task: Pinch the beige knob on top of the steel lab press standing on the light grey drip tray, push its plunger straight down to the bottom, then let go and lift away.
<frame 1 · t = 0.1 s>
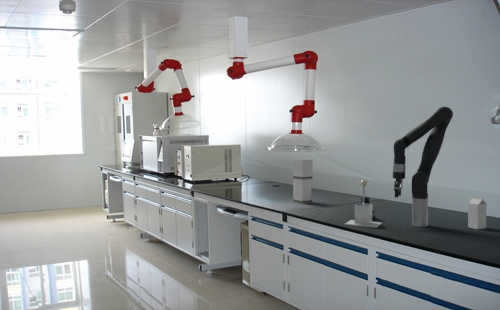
hand: (397, 196, 305), 17 cm above the worktop, tool pointing down, fingers open, 8 cm apart
scope: (366, 218, 323), on the worktop
plunger: (363, 193, 303), point 19 cm above the worktop, slide at 0.0 cm
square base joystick: (363, 213, 304), on the tray, point 7 cm above the worktop
tray: (363, 224, 304), on the worktop
milk carton: (476, 228, 292), on the worktop
grey banded column: (302, 202, 391), on the worktop
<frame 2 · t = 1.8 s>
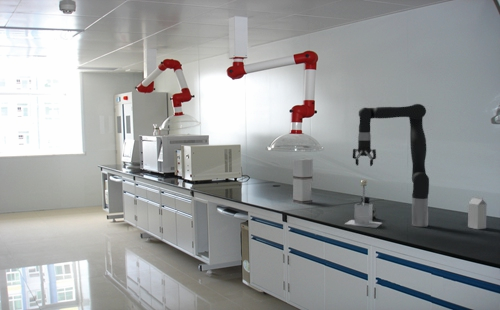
hand: (364, 165, 302), 37 cm above the worktop, tool pointing down, fingers open, 8 cm apart
nothing on the worktop moved.
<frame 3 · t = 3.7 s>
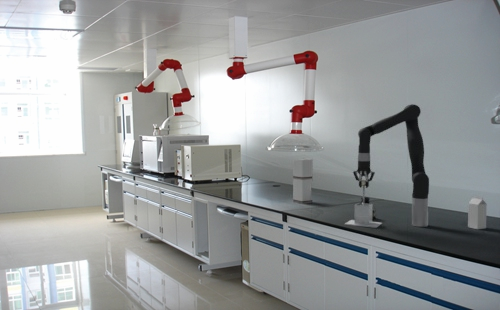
hand: (363, 187, 303), 23 cm above the worktop, tool pointing down, fingers closed on plunger, 3 cm apart
plunger: (363, 193, 303), point 19 cm above the worktop, slide at 0.0 cm, touching gripper
everything else where it was.
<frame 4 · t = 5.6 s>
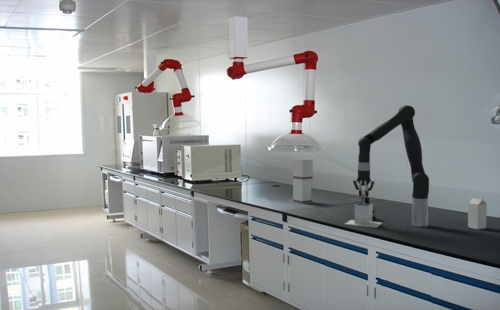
hand: (363, 196, 303), 17 cm above the worktop, tool pointing down, fingers closed on plunger, 3 cm apart
plunger: (363, 202, 303), point 13 cm above the worktop, slide at 5.9 cm, touching gripper
everything else where it was.
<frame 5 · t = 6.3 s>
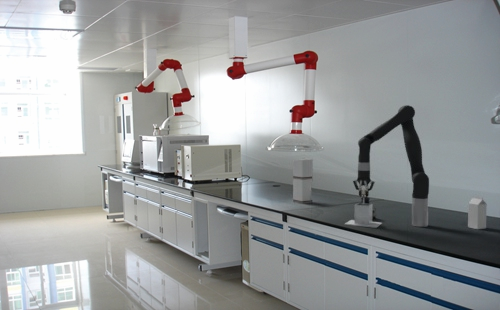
hand: (363, 196, 303), 17 cm above the worktop, tool pointing down, fingers closed on plunger, 3 cm apart
plunger: (363, 203, 303), point 13 cm above the worktop, slide at 5.9 cm, touching gripper
everything else where it was.
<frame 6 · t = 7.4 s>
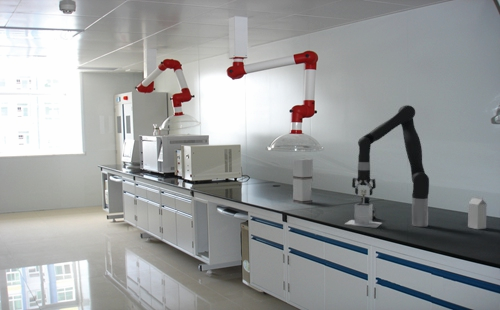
hand: (363, 194, 303), 19 cm above the worktop, tool pointing down, fingers open, 8 cm apart
plunger: (363, 203, 303), point 13 cm above the worktop, slide at 5.9 cm
everything else where it was.
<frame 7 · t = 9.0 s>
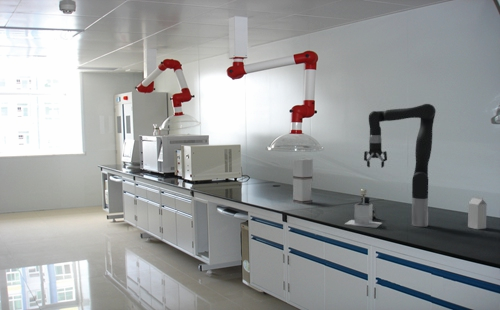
hand: (375, 167, 311), 35 cm above the worktop, tool pointing down, fingers open, 8 cm apart
nothing on the worktop moved.
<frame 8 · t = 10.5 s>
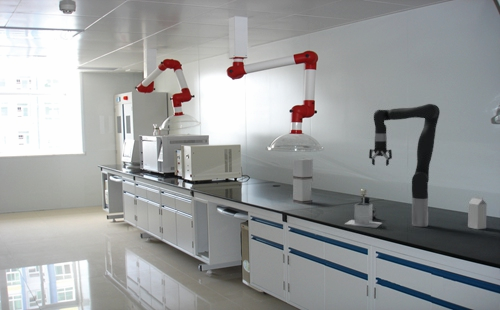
hand: (380, 165, 315), 36 cm above the worktop, tool pointing down, fingers open, 8 cm apart
nothing on the worktop moved.
at the end: plunger slide at 5.9 cm; the gripper is holding nothing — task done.
